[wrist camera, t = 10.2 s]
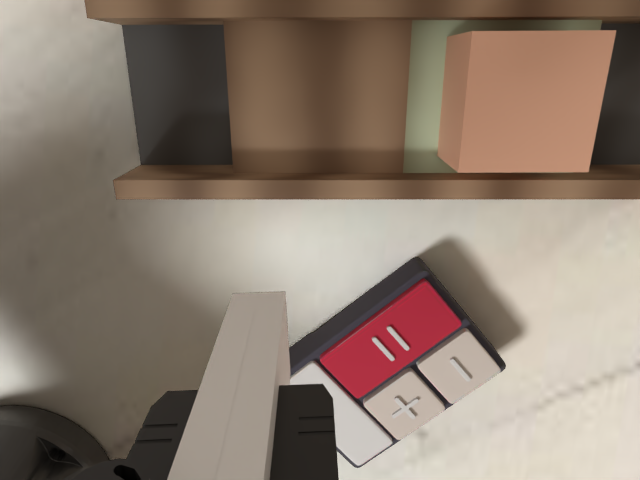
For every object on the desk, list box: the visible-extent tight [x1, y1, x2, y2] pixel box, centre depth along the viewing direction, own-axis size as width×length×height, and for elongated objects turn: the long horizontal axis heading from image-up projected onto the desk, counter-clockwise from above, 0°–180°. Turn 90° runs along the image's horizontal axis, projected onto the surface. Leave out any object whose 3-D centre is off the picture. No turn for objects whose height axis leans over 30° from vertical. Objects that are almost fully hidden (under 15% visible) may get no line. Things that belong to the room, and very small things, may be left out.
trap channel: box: [85, 0, 640, 199], centre depth 29 cm, size 36×11×5 cm, turn 90°
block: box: [437, 30, 616, 173], centre depth 26 cm, size 7×7×5 cm
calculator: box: [289, 257, 506, 468], centre depth 37 cm, size 11×4×15 cm
